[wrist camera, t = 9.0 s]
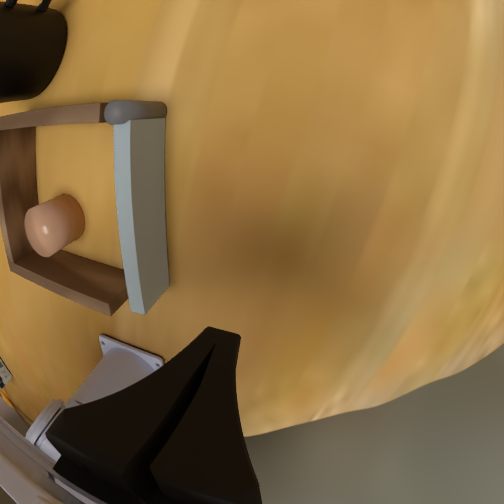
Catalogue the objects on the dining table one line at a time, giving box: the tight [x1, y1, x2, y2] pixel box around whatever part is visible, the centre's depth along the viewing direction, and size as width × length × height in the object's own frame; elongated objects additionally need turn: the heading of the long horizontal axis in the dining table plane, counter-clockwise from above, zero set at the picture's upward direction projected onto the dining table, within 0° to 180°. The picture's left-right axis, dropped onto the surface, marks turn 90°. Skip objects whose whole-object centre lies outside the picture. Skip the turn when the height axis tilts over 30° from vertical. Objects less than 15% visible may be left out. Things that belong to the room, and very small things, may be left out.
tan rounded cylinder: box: [25, 194, 85, 257], centre depth 21 cm, size 4×4×4 cm
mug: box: [0, 0, 66, 103], centre depth 12 cm, size 9×12×9 cm
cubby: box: [0, 103, 129, 316], centre depth 20 cm, size 15×14×5 cm
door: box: [104, 100, 170, 315], centre depth 18 cm, size 14×1×5 cm, turn 176°
